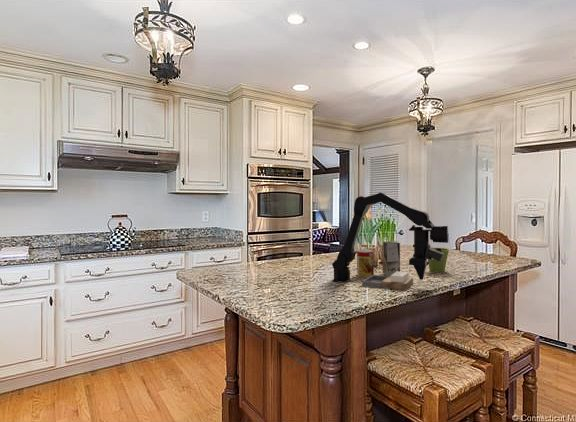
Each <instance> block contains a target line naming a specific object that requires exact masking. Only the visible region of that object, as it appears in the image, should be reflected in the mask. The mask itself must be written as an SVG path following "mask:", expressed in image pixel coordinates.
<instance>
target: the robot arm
mask: <svg viewBox="0 0 576 422" xmlns="http://www.w3.org/2000/svg"><path fill="white" fill-rule="evenodd" d="M379 203H382V204H384V205H385V206H387V207H389V208H391V209H392V210H395V211H396V212H399V213H401V214H403V215H404V216H405V217H406V218H408V220H409V221H411V222H412V223H413V224H412V225H411V227H409V229H408V231H410V232H413V243H412V247H413V253H412V257H411V258H410V259H408V266H413V268H414V269H415V272H416V275H417V276H418V278H419V280H420V281H421V280H422V281H423V279H424V277H425V272H426V268H427V266H429V263H430V262H428V259H430V260H433V259H436V260H437V261H441V260H442V258H443V255H444V252H442V249H441V248H442V247H436V248H437V249H436V250H435V249H432V248H433V247H431V244H430V242H429V241H432V242H433V243H438V244H439V243H442V244H443V243H445V244H446V243H447V244H449V242H450V240H449V239H450V238H449V237H450V236H449V235H450V233H449V228H448V227H449V226H448V225H434V224H433V223H432V221H431V219H430V215H429V213H427V212H426V211H424V210H421V209H417V208H415V207H414V208H413V207H410V206H409V205H406V204H405V203H403V202H402V201H400V200H397V199H396V198H394V197H391V196H390V195H388V194H386V193H385V192H378V193H376V194H373V195H368V196H366V195H364V196H362V195H360V196H358V197H356V198H355V200H354V204H353V217H352V220H351V223H350V226H349V229H348V233H347V236H346V239H345V243H344V244H343V246H342V247H341V249H340V250H339V252H338V254H337V256H336V259H335V260H334V261H333V262H332V263H331V266H332V268H333V279H332V282H340V283H347V282H349V281H350V280H351V270H350V264H351V263H352V262H353V261H354V260H356V256H357V251H358V250H355V245H356V242H357V239H358V235H359V233H360V230H361V227H362V224H363V220H364V218H365V216H366V214H368V211H369V209H371V206H373V205H376V204H379Z"/></svg>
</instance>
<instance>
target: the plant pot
mask: <svg viewBox="0 0 576 422" xmlns="http://www.w3.org/2000/svg"><path fill="white" fill-rule="evenodd" d="M431 248H432V249H435V250H436V249H437V248H438V247H431ZM440 248H441V249H442V252H444V255H443V258H442V260H441V261H437V260H436V259H433V260H430V259H427V262H430V263H429V264H428V269H429V271H430V272H434V273H441V272H442V273H444V272H445V271H446V266H447V261H448V260H447V259H448V255H449V251H451V249H450V248H446V247H440Z"/></svg>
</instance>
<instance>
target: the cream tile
mask: <svg viewBox="0 0 576 422" xmlns="http://www.w3.org/2000/svg"><path fill="white" fill-rule="evenodd" d="M408 278H409V272H407V271H400V272H398V271H397V272H395V273H394V274H392V275H391V282H402V283H403V282H405V281H406V280H407V279H408Z"/></svg>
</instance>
